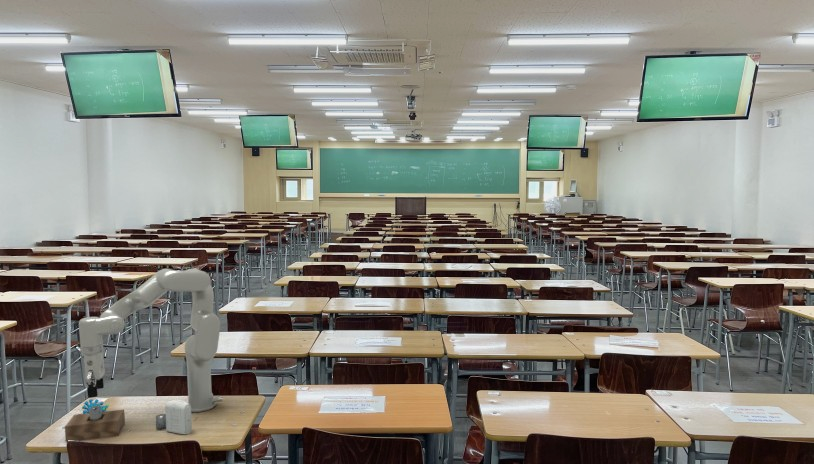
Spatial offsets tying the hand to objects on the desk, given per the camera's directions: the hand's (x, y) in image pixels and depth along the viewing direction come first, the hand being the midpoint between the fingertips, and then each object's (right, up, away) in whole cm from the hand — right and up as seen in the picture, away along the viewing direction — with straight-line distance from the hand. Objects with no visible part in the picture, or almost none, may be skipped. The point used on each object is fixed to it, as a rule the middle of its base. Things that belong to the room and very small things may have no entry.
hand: (96, 392), depth 222 cm
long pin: (0, -16, +1) cm, 16 cm away
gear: (-8, -15, +16) cm, 23 cm away
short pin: (+24, -15, +4) cm, 28 cm away
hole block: (0, -16, +1) cm, 16 cm away
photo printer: (+32, -15, 0) cm, 36 cm away
